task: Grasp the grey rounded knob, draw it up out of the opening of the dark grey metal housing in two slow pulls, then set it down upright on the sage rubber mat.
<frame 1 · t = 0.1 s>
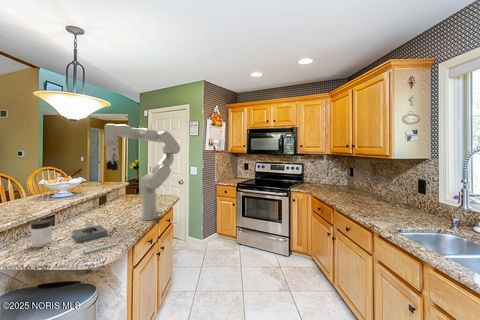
hand: (112, 169, 149), 37 cm above the countertop, tool pointing down, fingers open, 9 cm apart
grey rounded knob: (90, 235, 130), point 1 cm above the countertop, touching housing
jar: (42, 244, 121), on the countertop
mat: (98, 246, 118), on the countertop
housing: (90, 237, 130), on the countertop
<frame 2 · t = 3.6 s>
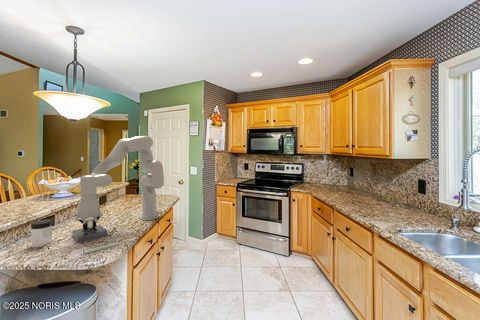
hand: (89, 229, 130), 5 cm above the countertop, tool pointing down, fingers closed on grey rounded knob, 3 cm apart
grey rounded knob: (90, 235, 130), point 1 cm above the countertop, touching gripper, housing
everything else where it was.
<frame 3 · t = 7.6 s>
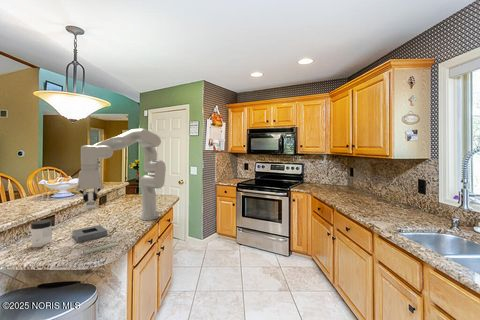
hand: (90, 200, 127), 21 cm above the countertop, tool pointing down, fingers closed on grey rounded knob, 3 cm apart
grey rounded knob: (90, 207, 127), point 18 cm above the countertop, touching gripper
everything else where it was.
when the fingers open (6 cm above the countertop, at t = 11.6 s): grey rounded knob drops 1 cm, resting on mat.
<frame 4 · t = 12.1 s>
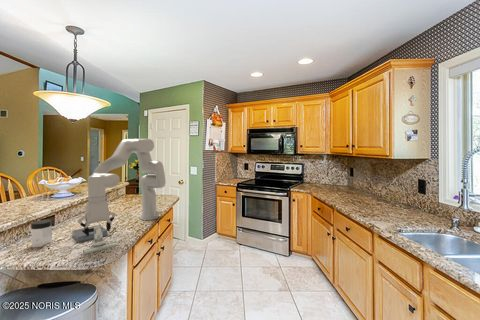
hand: (98, 232, 118), 7 cm above the countertop, tool pointing down, fingers open, 9 cm apart
grey rounded knob: (98, 244, 118), point 1 cm above the countertop, touching mat
everything else where it was.
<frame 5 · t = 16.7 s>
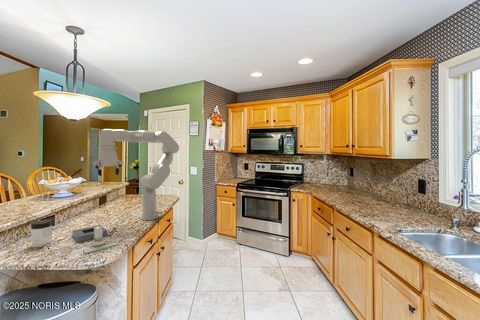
hand: (108, 175, 148), 33 cm above the countertop, tool pointing down, fingers open, 9 cm apart
nothing on the countertop moved.
at the end: grey rounded knob inside the target area on the mat (0.1 cm from its centre), point 0.9 cm above the mat's base; grey rounded knob tilted 2°; grey rounded knob touching mat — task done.
